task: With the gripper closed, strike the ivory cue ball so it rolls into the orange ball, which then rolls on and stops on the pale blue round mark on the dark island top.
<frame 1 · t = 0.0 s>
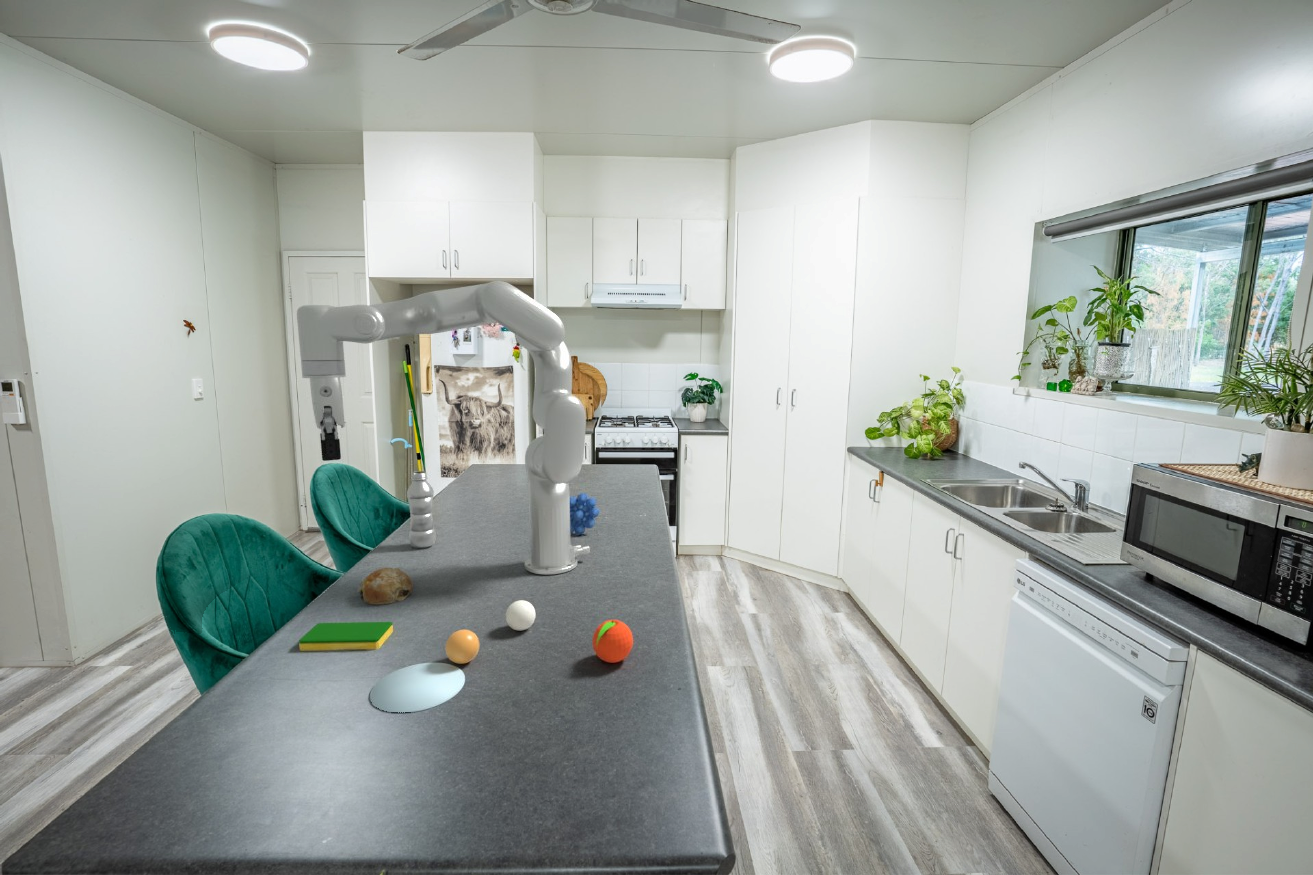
hand: (331, 455, 124), 31 cm above the counter, tool pointing down, fingers open, 9 cm apart
orange ball: (462, 646, 105), on the counter
dish sponge: (348, 643, 113), on the counter
plastic bottle: (423, 547, 164), on the counter
cue ball: (520, 615, 117), on the counter
bread roll: (385, 597, 132), on the counter
grapes: (578, 534, 174), on the counter
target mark: (418, 686, 98), on the counter
clementine: (611, 662, 105), on the counter
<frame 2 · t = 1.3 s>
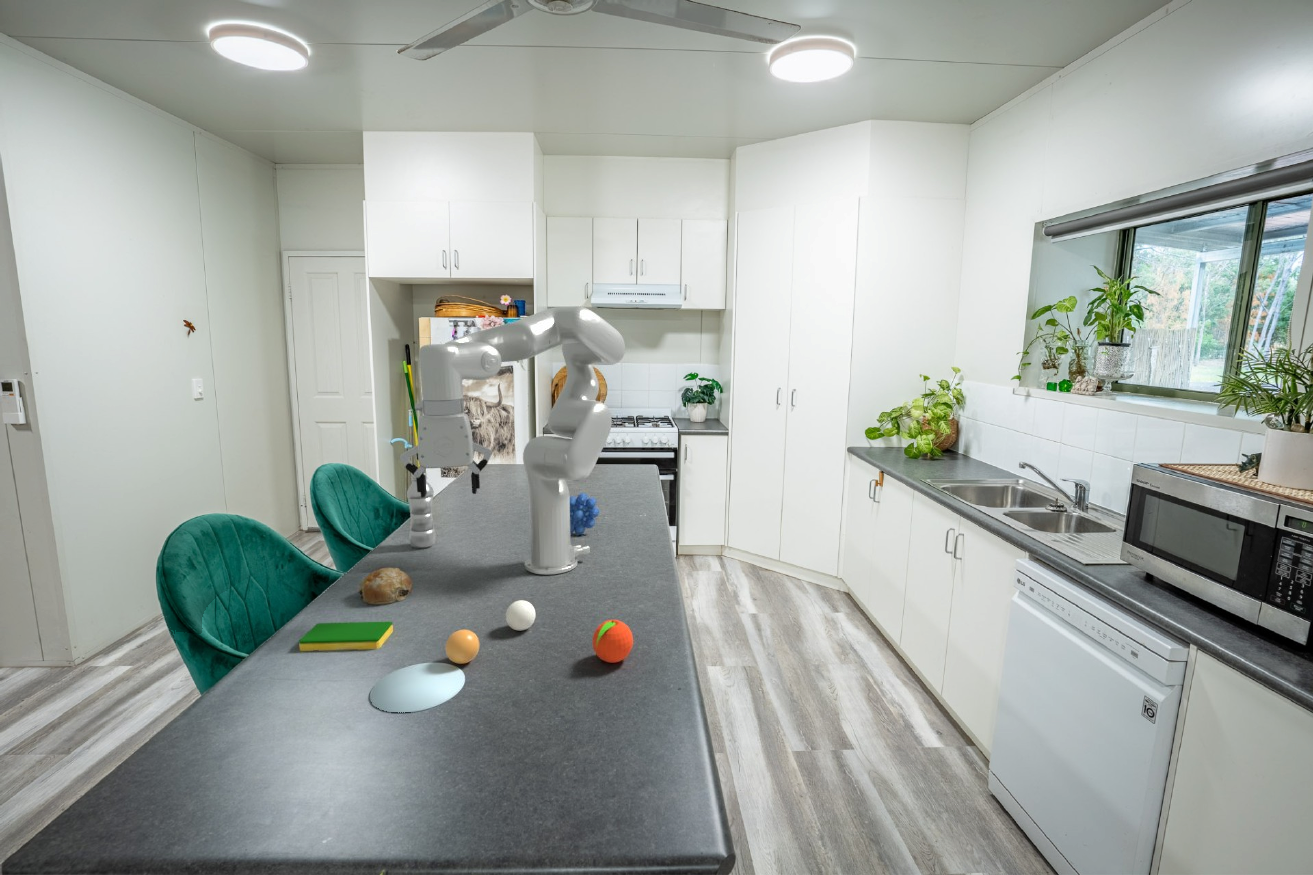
hand: (449, 493, 123), 24 cm above the counter, tool pointing down, fingers open, 9 cm apart
nothing on the counter moved.
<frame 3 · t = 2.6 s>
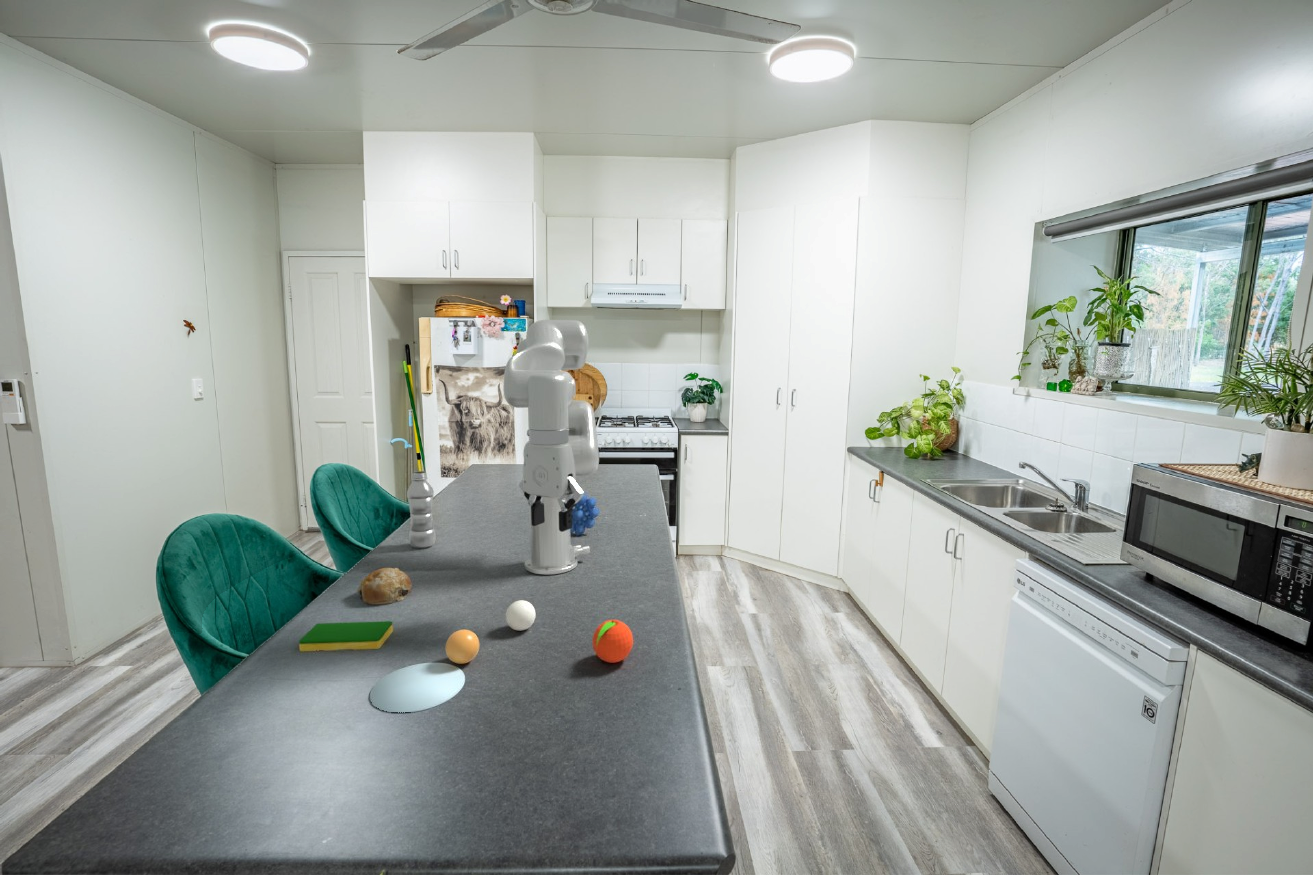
hand: (551, 526, 122), 18 cm above the counter, tool pointing down, fingers open, 6 cm apart
nothing on the counter moved.
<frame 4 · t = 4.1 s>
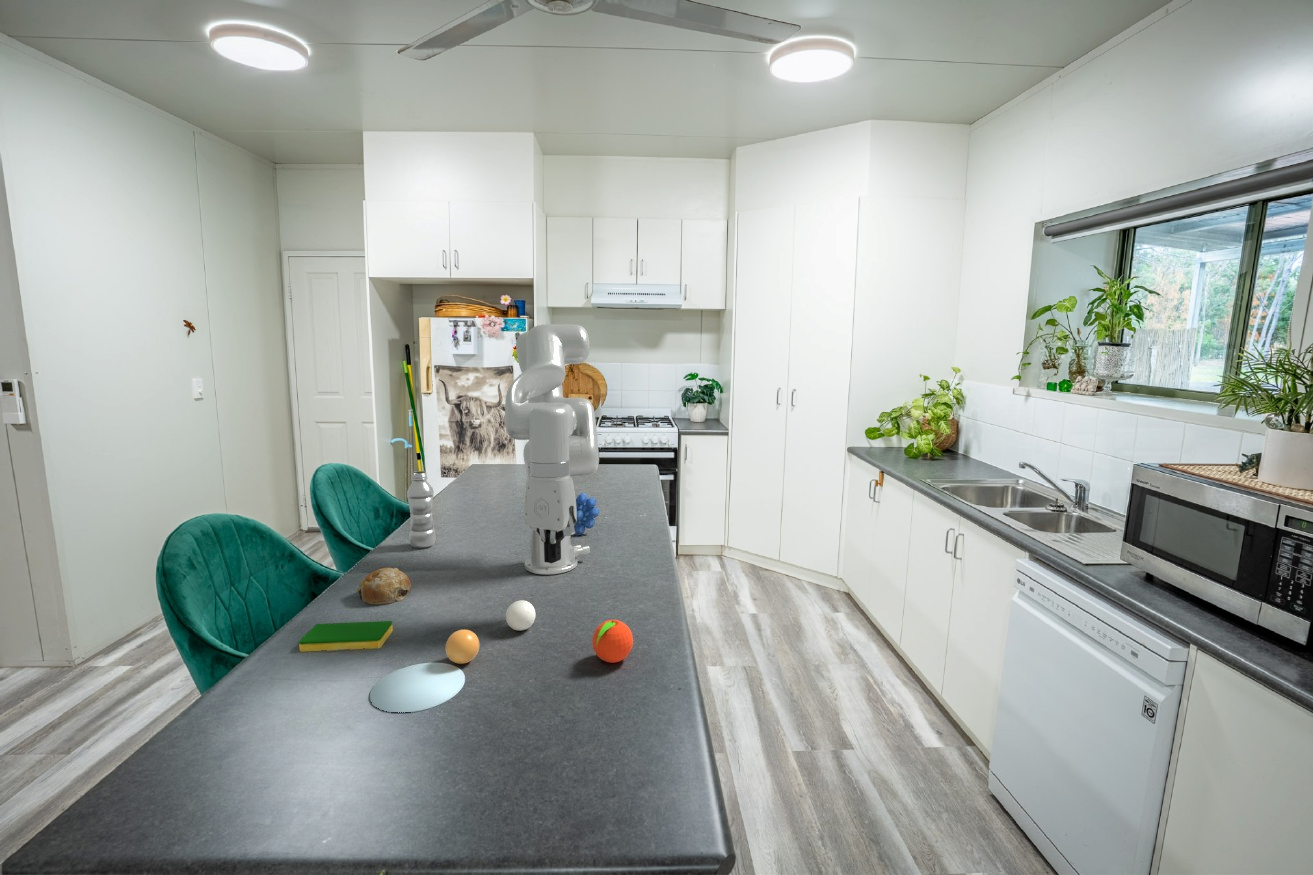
hand: (552, 560, 123), 11 cm above the counter, tool pointing down, fingers closed
nothing on the counter moved.
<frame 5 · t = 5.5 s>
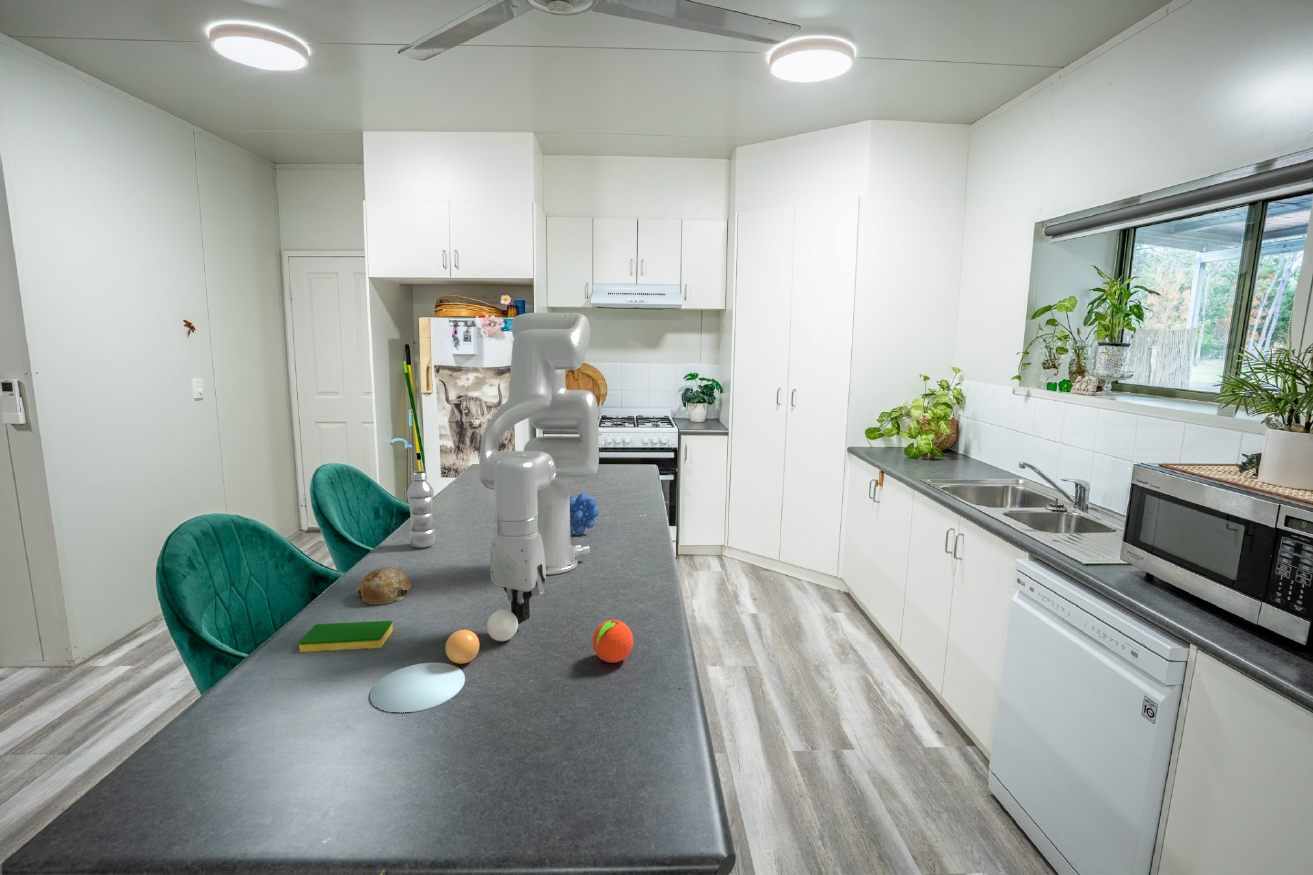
hand: (520, 620, 116), 2 cm above the counter, tool pointing down, fingers closed
cue ball: (502, 625, 113), on the counter
everything else where it was.
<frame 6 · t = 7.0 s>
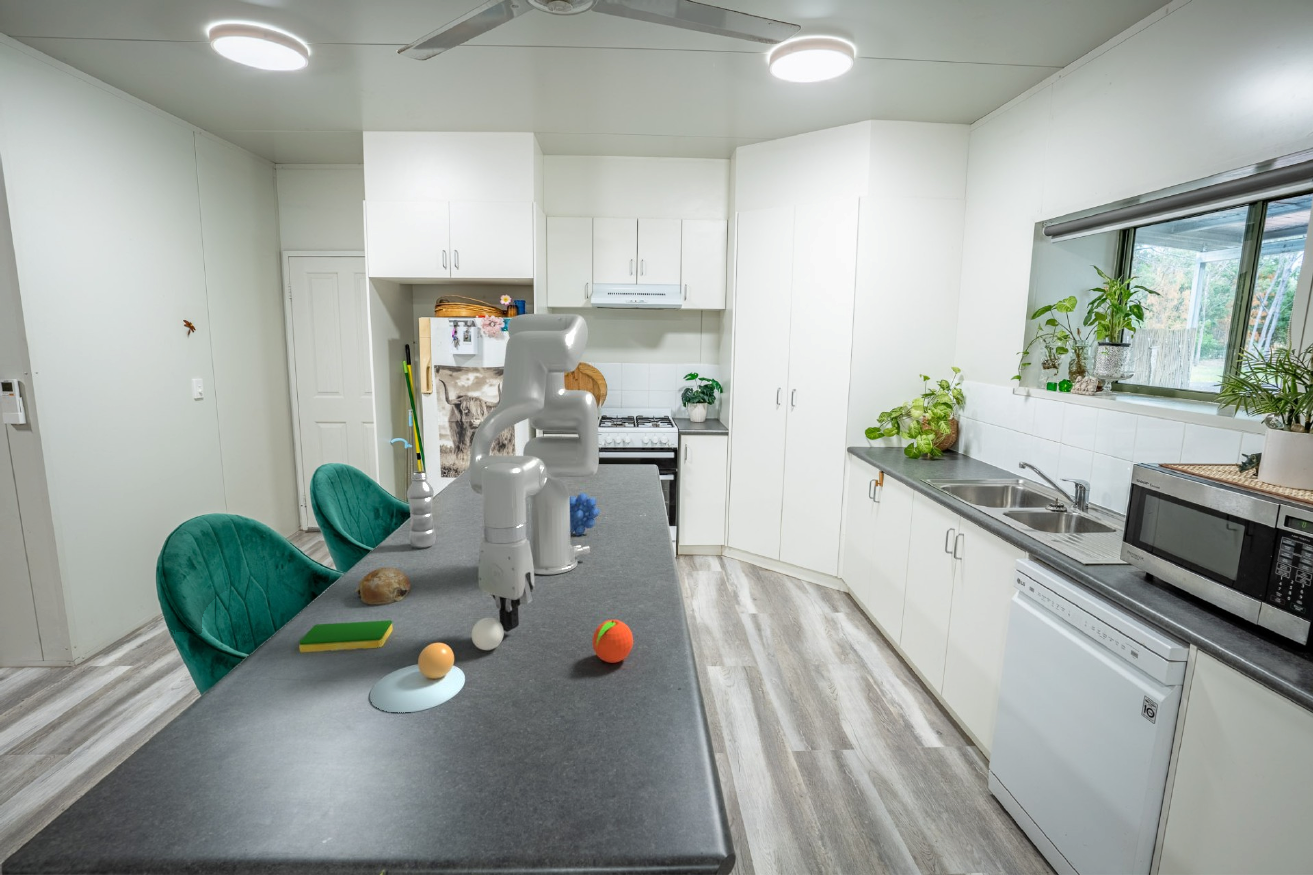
hand: (509, 627, 114), 2 cm above the counter, tool pointing down, fingers closed
orange ball: (436, 660, 100), on the counter
cue ball: (487, 633, 109), on the counter
everything else where it was.
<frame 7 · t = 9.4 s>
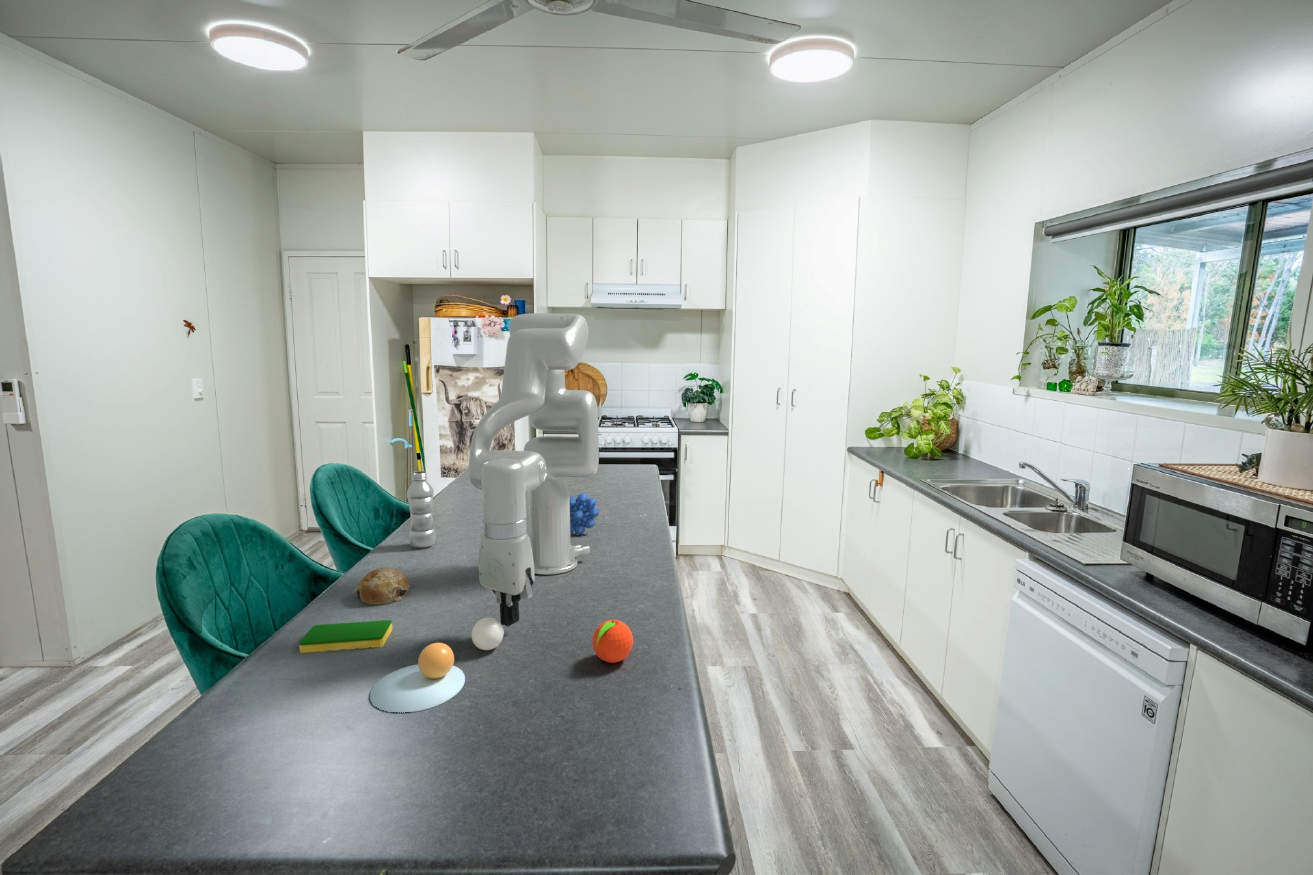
hand: (510, 622, 115), 2 cm above the counter, tool pointing down, fingers closed
nothing on the counter moved.
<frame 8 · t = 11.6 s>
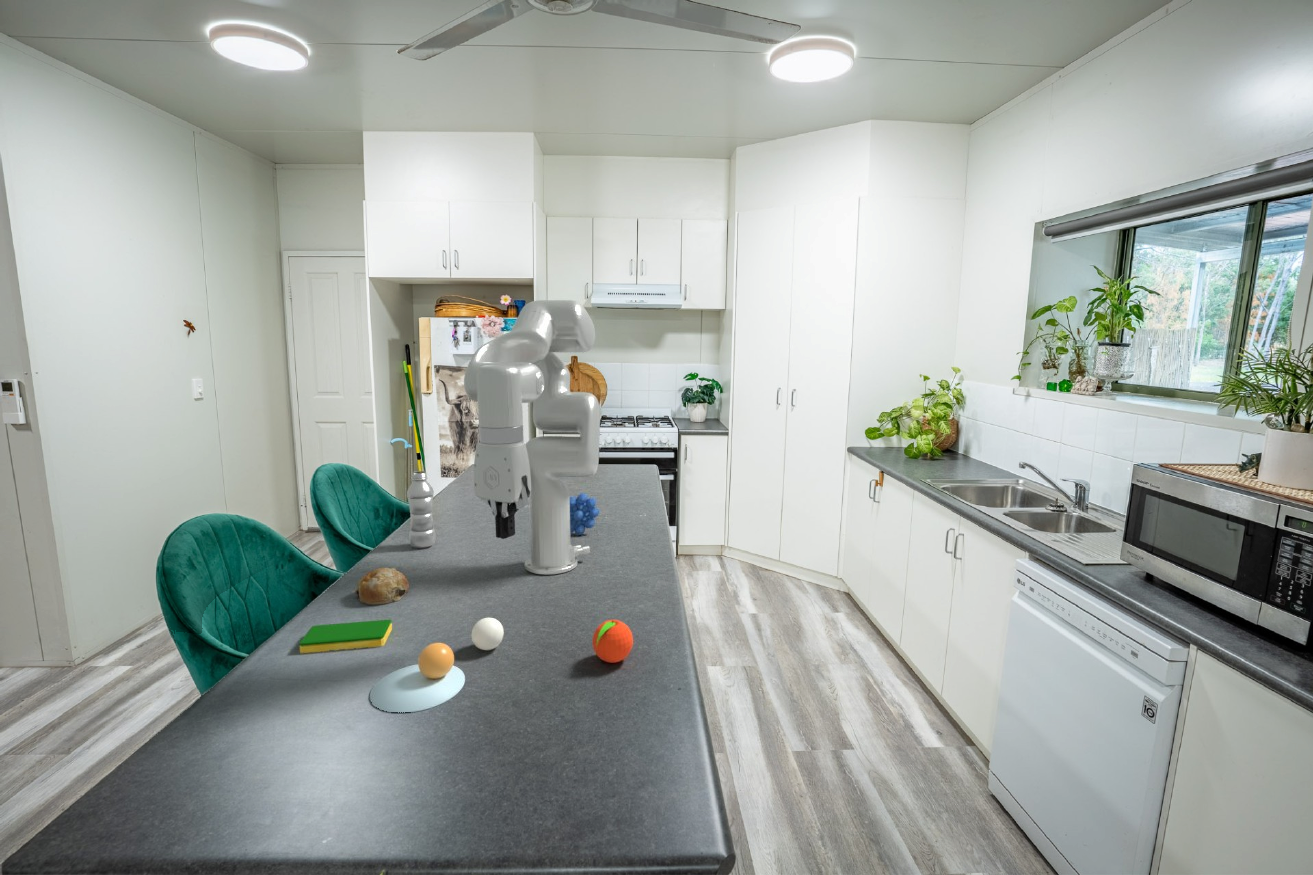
hand: (505, 536, 112), 19 cm above the counter, tool pointing down, fingers closed
nothing on the counter moved.
at the end: orange ball 3.6 cm from the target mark (horizontally); orange ball never touched the robot; cue ball first touched orange ball at 5.7 s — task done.
